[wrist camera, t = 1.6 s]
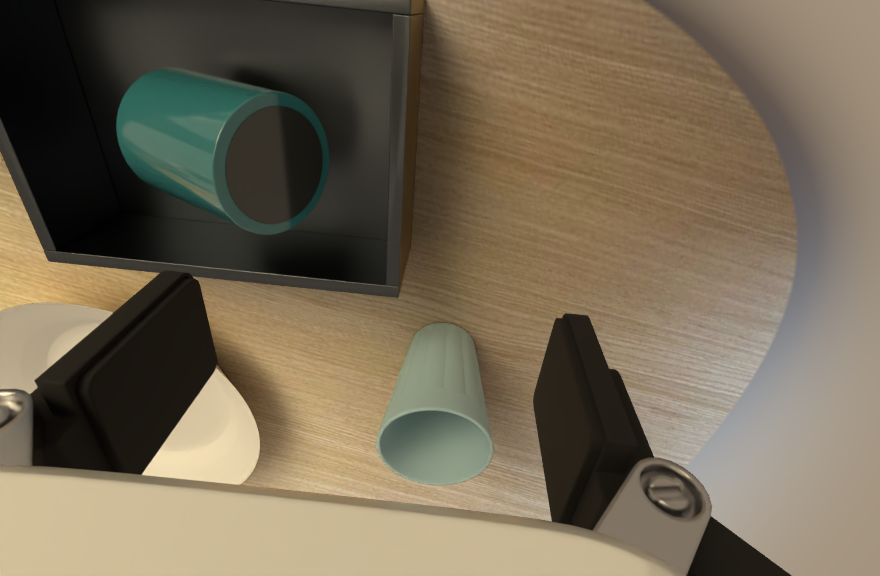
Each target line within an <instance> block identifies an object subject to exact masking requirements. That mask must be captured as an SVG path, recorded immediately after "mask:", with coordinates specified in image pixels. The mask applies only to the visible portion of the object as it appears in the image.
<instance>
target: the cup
mask: <svg viewBox="0 0 880 576" xmlns="http://www.w3.org/2000/svg"><path fill="white" fill-rule="evenodd" d="M376 446H377V451H378V454H379V456H380V458H381V459H382V461H383V462H384V463H385V465H386V466H387V467H388V468H390V469H391V470H392V471H393V472H395V473H396V474H398V475H400V476H402V477H404V478H406V479H408V480H411V481H414V482H418V483H422V484H428V485H451V484H457V483H461V482H464V481H467V480H469V479H472V478H474V477H475V476H477V475H478V474H480V473H481V472H482V471H484V470H485V468H486V467H487V466H488V465H489V463H490V461H491V459H492V456H493V450H494V447H493V440H492V435H491V430H490V424H489V419H488V415H487V409H486V404H485V398H484V393H483V387H482V382H481V376H480V371H479V365H478V359H477V354H476V349H475V344H474V341H473V339H472V338H471V336H470V335H469V333H468V332H467V331H465V330H464V329H462V328H461V327H459V326H457V325H454V324H450V323H440V322H439V323H433V324H429V325H426V326H424V327H423V328H421V329H420V330H419V331H417V332H416V334H415V335H414V337H413V339H412V341H411V343H410V346H409V349H408V352H407V354H406V357H405V360H404V363H403V366H402V368H401V371H400V374H399V377H398V380H397V383H396V385H395V388H394V391H393V394H392V397H391V399H390V402H389V405H388V408H387V410H386V413H385V415H384V418H383V421H382V424H381V427H380V429H379V432H378V435H377V441H376Z"/></svg>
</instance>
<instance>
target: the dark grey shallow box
mask: <svg viewBox="0 0 880 576" xmlns="http://www.w3.org/2000/svg"><path fill="white" fill-rule="evenodd" d="M424 9H425V0H0V152H1V154H2V156H3V159H4V161H5V163H6V165H7V168H8V170H9V172H10V174H11V177H12V179H13V181H14V184H15V186H16V188H17V190H18V193H19V195H20V197H21V199H22V202H23V204H24V206H25V209H26V211H27V213H28V215H29V218H30V220H31V222H32V225H33V227H34V229H35V231H36V234H37V236H38V238H39V240H40V243H41V245H42V247H43V249H44V252H45V255H46V257H47V259H48V261H50V262H59V263H69V264H78V265H88V266H98V267H107V268H117V269H127V270H136V271H146V272H156V273H161V272H163V271H176V272H186V273H189V274H191V275H192V276H194V277H204V278H213V279H223V280H233V281H242V282H252V283H262V284H271V285H281V286H291V287H300V288H310V289H319V290H329V291H339V292H348V293H358V294H368V295H377V296H387V297H397V298H398V297H399V293H400V289H401V285H402V281H403V277H404V273H405V269H406V265H407V261H408V257H409V253H410V248H411V236H412V218H413V201H414V184H415V166H416V149H417V131H418V114H419V96H420V79H421V61H422V44H423V27H424ZM166 67H180V68H186V69H190V70H194V71H199V72H203V73H207V74H211V75H215V76H219V77H223V78H227V79H231V80H235V81H239V82H243V83H247V84H252V85H256V86H260V87H264V88H268V89H272V90H276V91H280V92H284V93H288V94H291V95H293V96H295V97H297V98H299V99H301V100H302V101H303V102H305V103H306V104H307V105H308V106H309V107H310V108H311V109H312V110H313V111H314V112H315V114H316V115H317V116H318V118H319V120H320V122H321V123H322V126H323V128H324V130H325V133H326V137H327V141H328V146H329V171H328V177H327V181H326V184H325V187H324V190H323V193H322V195H321V197H320V199H319V201H318V203H317V204H316V206H315V207H314V209H313V210H312V211H311V212H310V214H309V215H308V216H307V217H306V218H305V219H304V220H303V221H301V222H300V223H299V224H298V225H296V226H295V227H293V228H291V229H289V230H287V231H285V232H281V233H278V234H272V235H261V234H255V233H252V232H249V231H247V230H244V229H242V228H240V227H238V226H236V225H234V224H231V223H229V222H227V221H225V220H223V219H221V218H218V217H216V216H214V215H212V214H210V213H208V212H205V211H203V210H201V209H199V208H197V207H195V206H192V205H190V204H188V203H186V202H184V201H182V200H179V199H177V198H175V197H173V196H171V195H169V194H166V193H164V192H162V191H160V190H158V189H156V188H154V187H152V186H150V185H149V184H147V183H145V182H144V181H143V180H142V179H141V178H139V177H138V176H137V175H136V174H135V172H134V171H133V170H132V169H131V168H130V166H129V165H128V163H127V162H126V160H125V158H124V156H123V154H122V152H121V149H120V146H119V142H118V138H117V129H116V123H117V114H118V109H119V106H120V103H121V101H122V99H123V97H124V95H125V93H126V92H127V90H128V89H129V88H130V87H131V85H132V84H133V83H134V82H135V81H137V80H138V79H139V78H140V77H142V76H143V75H145V74H147V73H149V72H151V71H153V70H157V69H160V68H166Z"/></svg>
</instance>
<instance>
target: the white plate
mask: <svg viewBox="0 0 880 576" xmlns="http://www.w3.org/2000/svg"><path fill="white" fill-rule="evenodd" d="M112 314H113V312H110V311H106V310H102V309H98V308H93V307H88V306H83V305H76V304H67V303H32V304H24V305H19V306H15V307H11V308H8V309H5V310H2V311H0V389H19V390H24V391H26V392H27V393H29V394H31V393H32V392H33V391H34V390H35V389H37V388H38V387H37V385H36V383H35V381H34V380H35V379H37V378H38V377H39V376H40V375H41V374H42V373H44V372H45V371H46V370H47V369H48V368H49V367H51V366H52V365H53V364H54V363H55V362H56V361H58V360H59V359H60V358H61V357H62V356H64V355H65V354H66V353H67V352H68V351H69V350H71V349H72V348H73V347H74V346H75V345H76V344H78V343H79V342H80V341H81V340H82V339H83V338H85V337H86V336H87V335H88V334H89V333H91V332H92V331H93V330H94V329H95V328H96V327H98V326H99V325H100V324H101V323H102V322H103V321H105V320H106V319H107V318H108V317H109V316H110V315H112ZM259 452H260V438H259V432H258V428H257V425H256V422H255V419H254V417H253V415H252V413H251V411H250V409H249V407H248V405H247V404H246V402H245V401H244V399H243V398H242V396H241V395H240V393H239V392H238V391H237V390H236V388H235V387H234V386H233V385H232V384H231V382H230V381H229V380H228V378H227V377H226V375H225V374H224V373H223V371H222V370H221V369H220V368H219V366H218V365H216V369H215V371H214V373H213V374H212V376H211V377H210V379H209V380H208V381H207V383H206V384H205V386H204V387H203V388H202V390H201V391H200V393H199V394H198V396H197V397H196V398H195V400H194V401H193V403H192V404H191V406H190V407H189V408H188V410H187V411H186V413H185V414H184V415H183V417H182V418H181V420H180V421H179V423H178V424H177V425H176V427H175V428H174V430H173V431H172V432H171V434H170V435H169V437H168V438H167V440H166V441H165V442H164V444H163V445H162V447H161V448H160V449H159V451H158V452H157V454H156V455H155V457H154V458H153V459H152V461H151V462H150V464H149V465H148V466H147V468H146V469H145V471H144V472H143V474H142V475H148V476H157V477H167V478H177V479H187V480H197V481H206V482H216V483H226V484H235V485H240V484H241V483H243V482H244V481H245V480H246V479H247V478H248V477H249V475H250V474H251V473H252V471H253V470H254V468H255V466H256V464H257V461H258V457H259Z"/></svg>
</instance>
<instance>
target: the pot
mask: <svg viewBox="0 0 880 576" xmlns="http://www.w3.org/2000/svg"><path fill="white" fill-rule="evenodd" d="M116 129H117V138H118V142H119V146H120V149H121V152H122V154H123V156H124V158H125V160H126V162H127V163H128V165H129V166H130V168H131V169H132V170H133V171H134V172H135V174H136V175H137V176H138V177H139V178H141V179H142V180H143V181H144V182H145V183H147V184H149V185H150V186H152V187H154V188H156V189H158V190H160V191H162V192H164V193H166V194H169V195H171V196H173V197H175V198H177V199H179V200H182V201H184V202H186V203H188V204H190V205H192V206H195V207H197V208H199V209H201V210H203V211H205V212H208V213H210V214H212V215H214V216H216V217H218V218H221V219H223V220H225V221H227V222H229V223H231V224H234V225H236V226H238V227H240V228H242V229H244V230H247V231H249V232H252V233H255V234H261V235H272V234H278V233H281V232H285V231H287V230H289V229H291V228H293V227H295V226H296V225H298V224H299V223H300V222H301V221H303V220H304V219H305V218H306V217H307V216H308V215H309V214H310V212H311V211H312V210H313V209H314V207H315V206H316V204H317V203H318V201H319V199H320V197H321V195H322V193H323V190H324V187H325V184H326V181H327V177H328V171H329V146H328V141H327V137H326V133H325V130H324V128H323V126H322V123H321V122H320V120H319V118H318V116H317V115H316V114H315V112H314V111H313V110H312V109H311V108H310V107H309V106H308V105H307V104H306V103H305V102H303V101H302V100H301V99H299V98H297V97H295V96H293V95H291V94H288V93H284V92H280V91H276V90H272V89H268V88H264V87H260V86H256V85H252V84H247V83H243V82H239V81H235V80H231V79H227V78H223V77H219V76H215V75H211V74H207V73H203V72H199V71H194V70H190V69H186V68H180V67H166V68H160V69H157V70H153V71H151V72H149V73H147V74H145V75H143V76H142V77H140V78H139V79H138V80H137V81H135V82H134V83H133V84H132V85H131V87H130V88H129V89H128V90H127V92H126V93H125V95H124V97H123V99H122V101H121V103H120V106H119V109H118V114H117V123H116Z"/></svg>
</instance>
